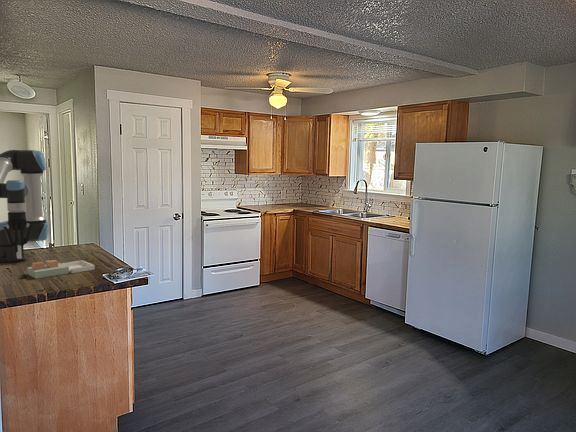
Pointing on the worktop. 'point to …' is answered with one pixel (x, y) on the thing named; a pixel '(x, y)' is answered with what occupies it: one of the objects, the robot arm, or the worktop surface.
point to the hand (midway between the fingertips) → (19, 258)
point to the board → (48, 271)
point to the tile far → (51, 263)
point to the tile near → (38, 265)
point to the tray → (79, 266)
